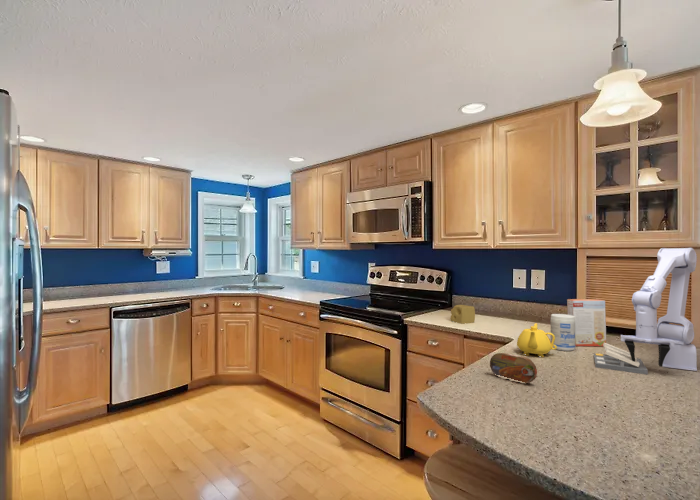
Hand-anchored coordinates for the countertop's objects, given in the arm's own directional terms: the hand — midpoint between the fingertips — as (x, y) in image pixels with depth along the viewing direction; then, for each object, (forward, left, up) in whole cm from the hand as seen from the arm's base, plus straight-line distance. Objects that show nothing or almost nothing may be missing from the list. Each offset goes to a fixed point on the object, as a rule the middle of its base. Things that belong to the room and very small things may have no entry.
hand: (646, 364), depth 127 cm
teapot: (+35, -6, -3) cm, 36 cm away
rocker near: (+7, 0, +1) cm, 7 cm away
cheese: (+80, -62, -3) cm, 101 cm away
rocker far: (+7, -12, +1) cm, 14 cm away
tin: (+39, +32, -3) cm, 51 cm away
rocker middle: (+7, -6, +1) cm, 9 cm away
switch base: (+7, -6, -3) cm, 10 cm away
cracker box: (+17, -35, -3) cm, 39 cm away
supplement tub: (+26, -22, -3) cm, 34 cm away
